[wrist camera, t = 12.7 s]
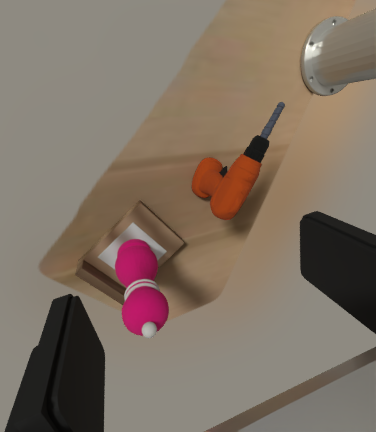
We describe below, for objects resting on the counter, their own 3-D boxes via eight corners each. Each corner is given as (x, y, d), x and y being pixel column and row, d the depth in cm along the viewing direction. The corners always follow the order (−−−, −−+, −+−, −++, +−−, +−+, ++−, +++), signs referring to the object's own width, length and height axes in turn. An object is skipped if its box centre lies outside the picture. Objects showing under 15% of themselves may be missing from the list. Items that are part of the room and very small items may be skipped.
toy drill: (254, 105, 44) (310, 112, 31) (206, 197, 50) (237, 235, 37) (232, 92, 42) (282, 93, 29) (185, 189, 48) (209, 226, 35)
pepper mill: (142, 275, 48) (162, 364, 30) (107, 263, 45) (106, 354, 27) (160, 244, 47) (191, 317, 29) (125, 230, 44) (136, 302, 26)
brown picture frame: (139, 200, 45) (142, 208, 41) (181, 239, 51) (188, 249, 46) (78, 260, 46) (75, 274, 41) (126, 292, 51) (128, 308, 47)
